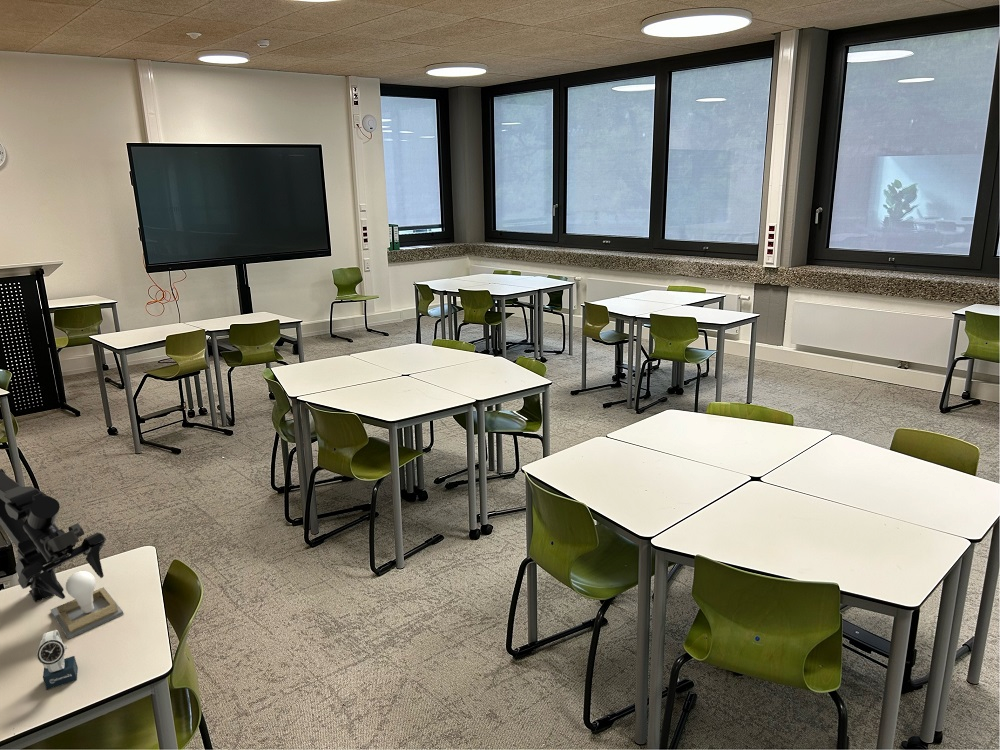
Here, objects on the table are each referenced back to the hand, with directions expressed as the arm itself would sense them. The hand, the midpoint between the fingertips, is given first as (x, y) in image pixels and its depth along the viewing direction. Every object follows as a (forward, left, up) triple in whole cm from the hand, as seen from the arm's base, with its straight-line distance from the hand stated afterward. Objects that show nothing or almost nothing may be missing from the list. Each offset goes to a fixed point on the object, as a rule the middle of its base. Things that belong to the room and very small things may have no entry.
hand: (83, 587), depth 167 cm
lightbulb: (-1, 0, -8) cm, 8 cm away
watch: (+19, -11, -9) cm, 23 cm away
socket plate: (-3, 0, -8) cm, 9 cm away
